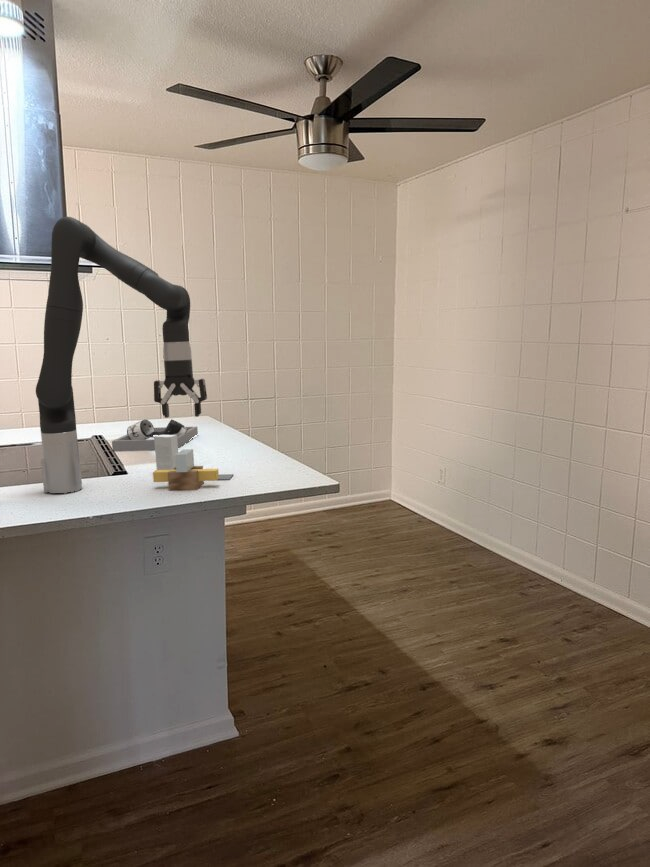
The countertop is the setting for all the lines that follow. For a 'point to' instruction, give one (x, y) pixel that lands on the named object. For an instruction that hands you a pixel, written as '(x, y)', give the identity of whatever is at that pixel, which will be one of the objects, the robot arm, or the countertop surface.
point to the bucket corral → (149, 441)
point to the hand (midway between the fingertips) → (182, 416)
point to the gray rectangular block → (184, 460)
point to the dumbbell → (146, 430)
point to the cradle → (184, 480)
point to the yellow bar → (202, 473)
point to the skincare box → (166, 451)
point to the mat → (225, 476)
